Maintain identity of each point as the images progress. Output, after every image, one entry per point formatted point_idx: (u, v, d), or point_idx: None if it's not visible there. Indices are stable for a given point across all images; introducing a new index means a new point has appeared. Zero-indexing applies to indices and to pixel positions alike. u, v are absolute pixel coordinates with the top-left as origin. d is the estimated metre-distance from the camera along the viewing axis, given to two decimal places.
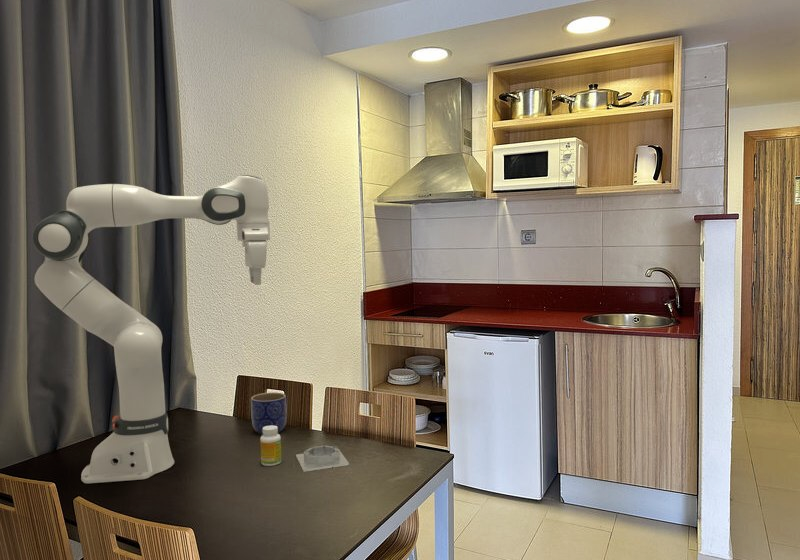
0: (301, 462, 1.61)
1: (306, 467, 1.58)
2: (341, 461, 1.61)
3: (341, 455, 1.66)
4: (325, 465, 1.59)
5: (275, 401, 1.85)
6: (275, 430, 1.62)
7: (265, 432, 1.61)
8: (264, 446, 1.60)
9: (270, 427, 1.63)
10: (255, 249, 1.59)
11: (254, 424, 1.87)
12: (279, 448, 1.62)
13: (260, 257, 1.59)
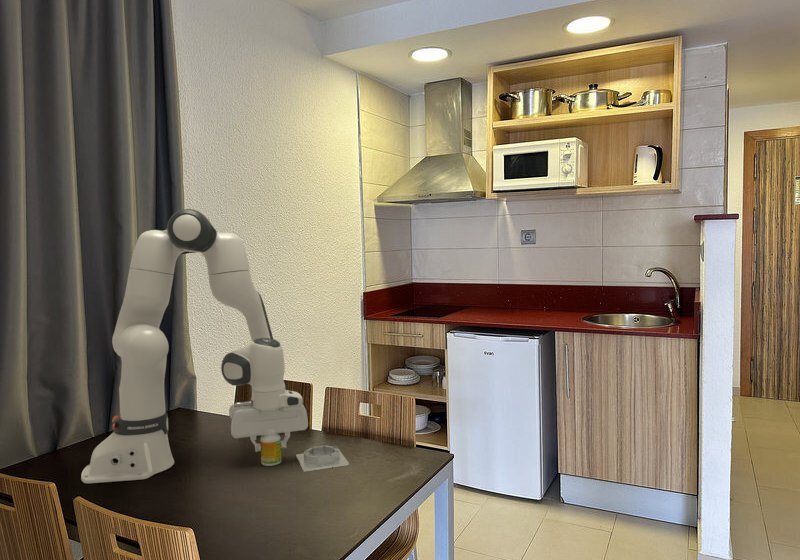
0: (301, 462, 1.61)
1: (306, 467, 1.58)
2: (341, 461, 1.61)
3: (341, 455, 1.66)
4: (325, 465, 1.59)
5: None
6: None
7: None
8: (264, 446, 1.60)
9: None
10: None
11: None
12: (279, 448, 1.62)
13: None
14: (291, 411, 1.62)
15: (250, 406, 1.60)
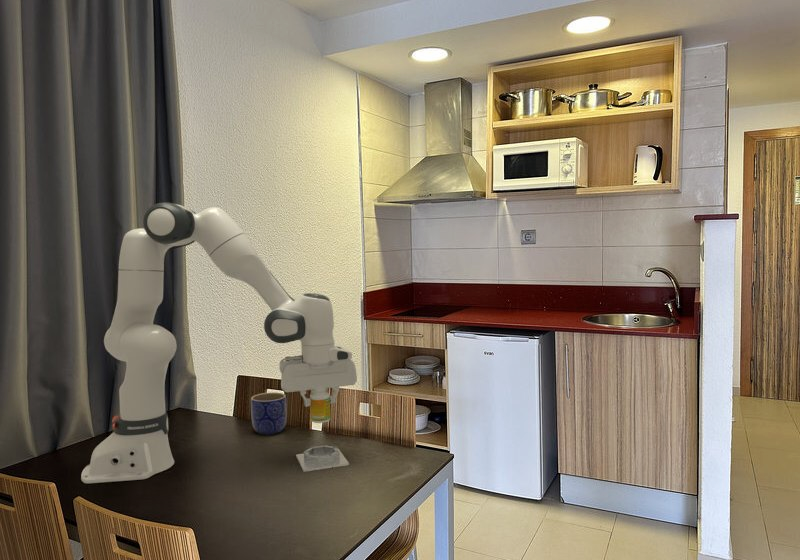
0: (301, 462, 1.61)
1: (306, 467, 1.58)
2: (341, 461, 1.61)
3: (341, 455, 1.66)
4: (325, 465, 1.59)
5: (275, 401, 1.85)
6: None
7: (315, 389, 1.61)
8: (314, 403, 1.60)
9: None
10: None
11: (254, 424, 1.87)
12: (328, 406, 1.62)
13: None
14: (340, 365, 1.62)
15: (300, 360, 1.60)
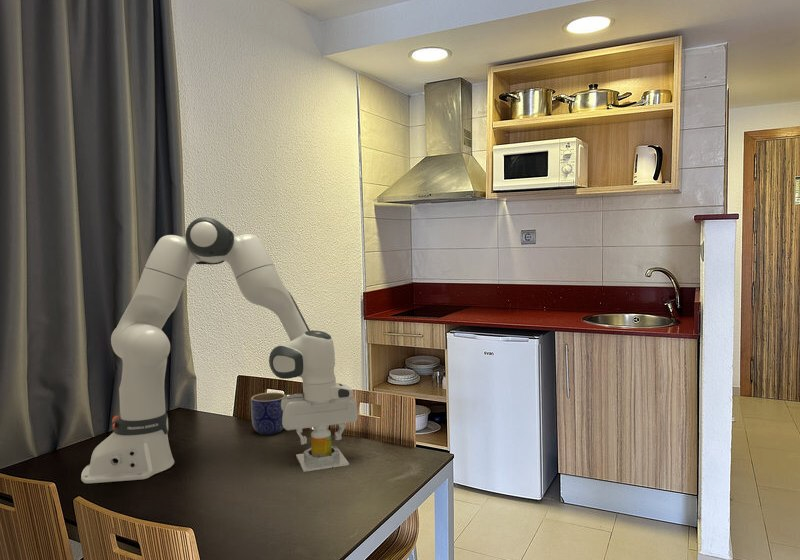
0: (301, 462, 1.61)
1: (306, 467, 1.58)
2: (341, 461, 1.61)
3: (341, 455, 1.66)
4: (325, 465, 1.59)
5: (275, 401, 1.85)
6: (326, 426, 1.62)
7: (316, 428, 1.62)
8: (316, 441, 1.61)
9: None
10: None
11: (254, 424, 1.87)
12: (330, 444, 1.63)
13: None
14: (341, 403, 1.63)
15: (301, 398, 1.61)
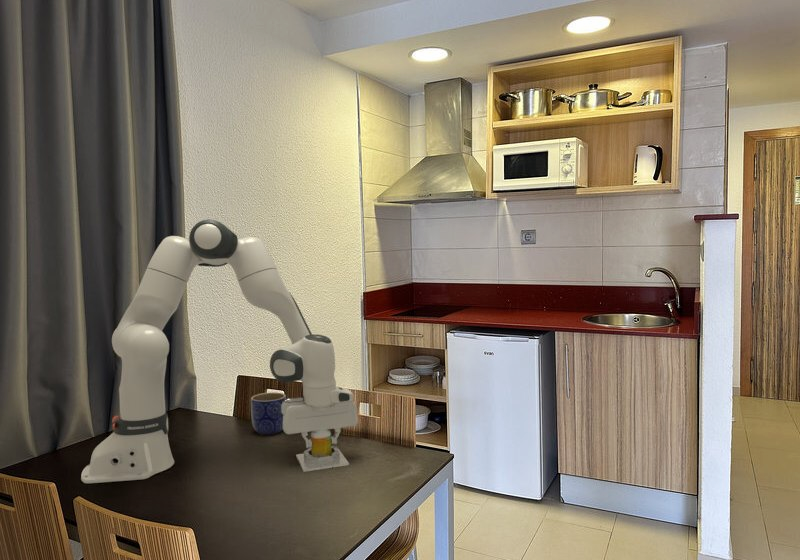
0: (301, 462, 1.61)
1: (306, 467, 1.58)
2: (341, 461, 1.61)
3: (341, 455, 1.66)
4: (325, 465, 1.59)
5: (275, 401, 1.85)
6: None
7: None
8: (315, 441, 1.61)
9: None
10: None
11: (254, 424, 1.87)
12: (330, 444, 1.63)
13: None
14: (342, 407, 1.63)
15: (301, 402, 1.61)
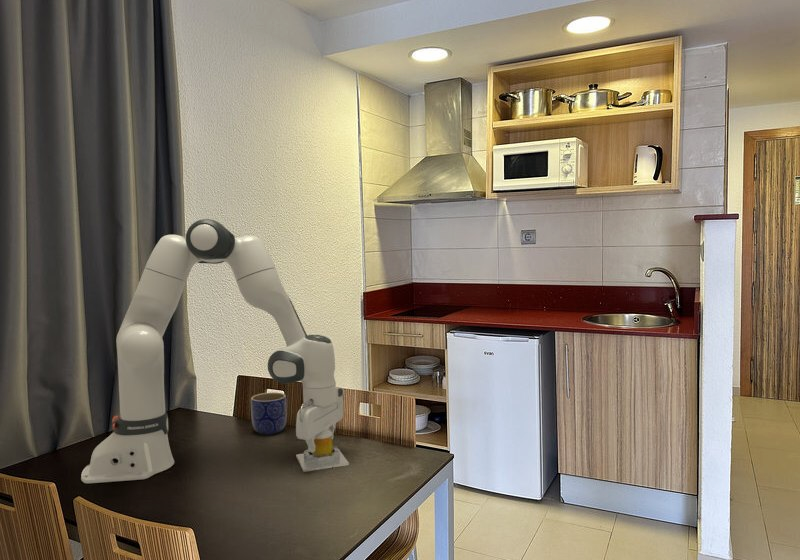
0: (301, 462, 1.61)
1: (306, 467, 1.58)
2: (341, 461, 1.61)
3: (341, 455, 1.66)
4: (325, 465, 1.59)
5: (275, 401, 1.85)
6: (328, 425, 1.62)
7: None
8: (320, 442, 1.60)
9: None
10: None
11: (254, 424, 1.87)
12: None
13: None
14: (335, 402, 1.67)
15: (311, 405, 1.58)
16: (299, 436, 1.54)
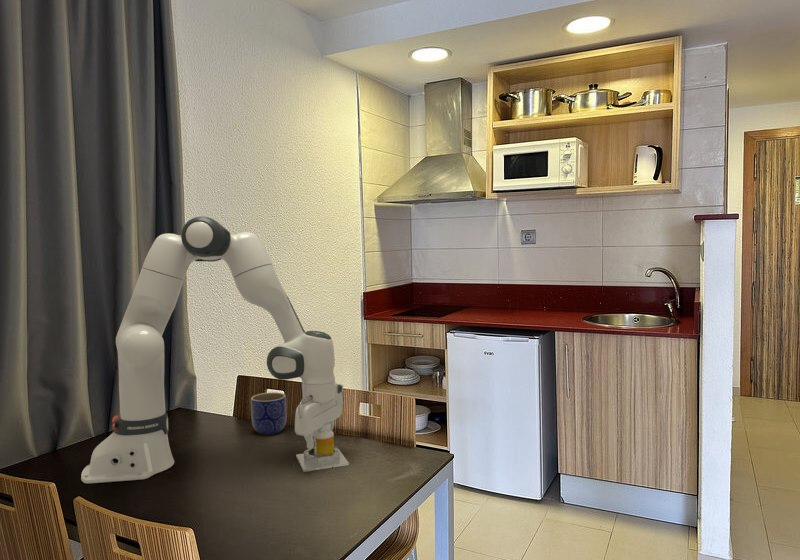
0: (301, 462, 1.61)
1: (306, 467, 1.58)
2: (341, 461, 1.61)
3: (341, 455, 1.66)
4: (325, 465, 1.59)
5: (275, 401, 1.85)
6: (330, 425, 1.63)
7: (323, 428, 1.61)
8: (325, 442, 1.60)
9: None
10: None
11: (254, 424, 1.87)
12: None
13: None
14: (335, 399, 1.67)
15: (310, 401, 1.57)
16: (298, 432, 1.54)
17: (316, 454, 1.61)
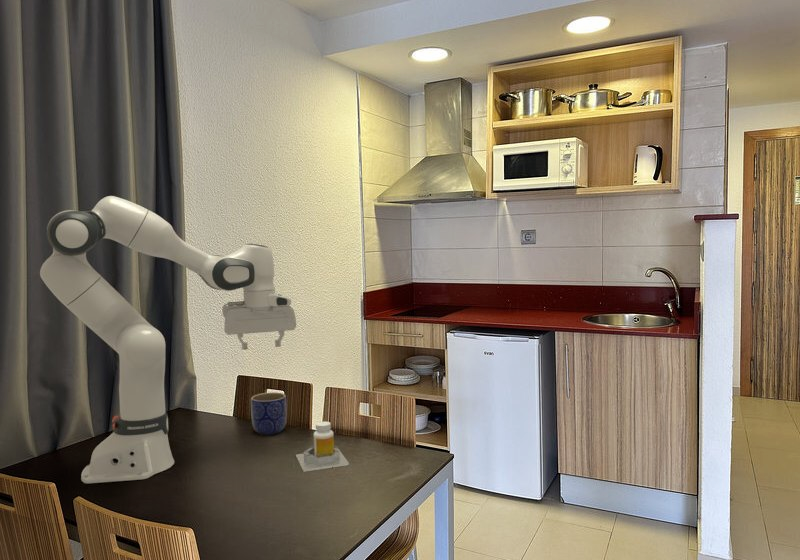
0: (301, 462, 1.61)
1: (306, 467, 1.58)
2: (341, 461, 1.61)
3: (341, 455, 1.66)
4: (325, 465, 1.59)
5: (275, 401, 1.85)
6: (330, 425, 1.63)
7: (323, 428, 1.61)
8: (325, 442, 1.60)
9: (323, 423, 1.63)
10: None
11: (254, 424, 1.87)
12: None
13: None
14: (280, 311, 1.74)
15: (242, 306, 1.72)
16: (224, 330, 1.71)
17: (316, 454, 1.61)
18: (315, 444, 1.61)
